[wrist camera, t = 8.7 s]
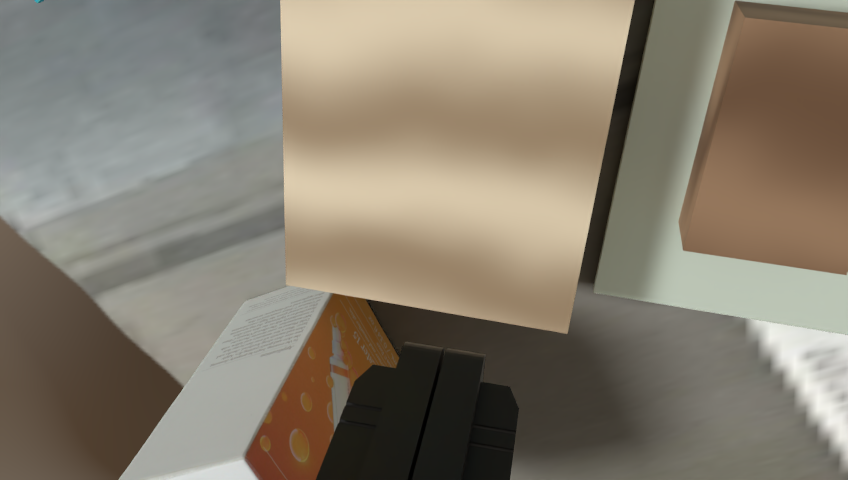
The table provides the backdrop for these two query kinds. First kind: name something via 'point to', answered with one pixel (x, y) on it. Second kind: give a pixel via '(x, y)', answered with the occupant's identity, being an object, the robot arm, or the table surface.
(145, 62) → the table surface
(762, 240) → the walnut tile
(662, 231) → the sage mat
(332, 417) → the small box
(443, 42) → the birch deck
